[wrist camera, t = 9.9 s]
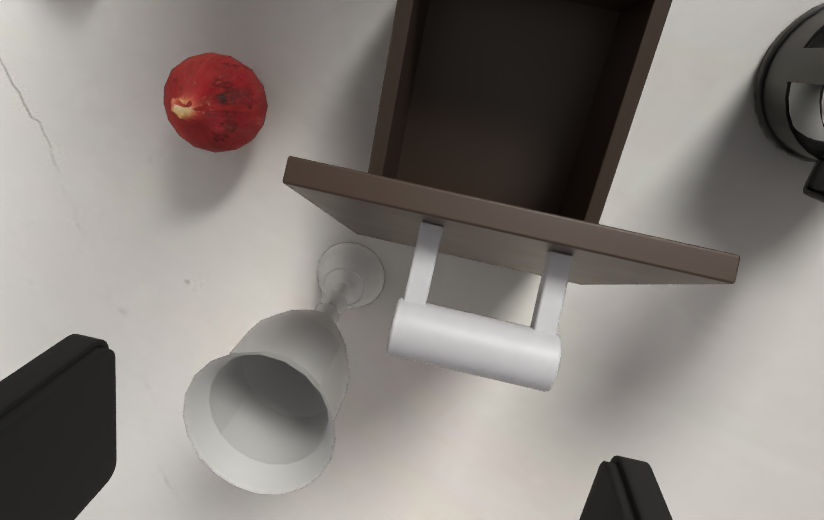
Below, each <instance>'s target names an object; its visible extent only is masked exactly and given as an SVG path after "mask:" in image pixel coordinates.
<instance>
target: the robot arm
mask: <svg viewBox="0 0 824 520" xmlns="http://www.w3.org/2000/svg"><path fill="white" fill-rule="evenodd" d="M115 466H116V376H115V353H114V351H112V350H110V349H109V347H108V344H107V342H106V341H104V340H101V339H97V338H92V337H88V336H84V335H79V334H72V335H69V336H67V337H66V338H64V339H63V340H61V341H60V342H58V343H57V344H55V345H54V346H53V347H51V348H50V349H48V350H47V351H45V352H44V353H42V354H41V355H39V356H38V357H36V358H35V359H33V360H32V361H30V362H29V363H27V364H26V365H24V366H23V367H21V368H20V369H18V370H17V371H15V372H14V373H12V374H11V375H9V376H8V377H6V378H5V379H3V380H2V381H0V520H74V519H75V518H76V517H77V516H78V515H79V514H80V513H81V511H82V510H83V509H84V508H85V507H86V506H87V505H88V504H89V502H90V501H91V500H92V499H93V498H94V497H95V496H96V495H97V493H98V492H99V491H100V490H101V489H102V488H103V487H104V485H105V484H106V483H107V482H108V481H109V479H110V478H111V476H112V474H113V472H114V470H115ZM580 520H672V517H671V515H670V512H669V510H668V507H667V505H666V503H665V500H664V498H663V495H662V493H661V490H660V488H659V485H658V483H657V481H656V478H655V476H654V473H653V471H652V468H651V467H650V465H649V464H648V463H647V462H643V461H639V460H635V459H630V458H626V457H621V456H614V457H613V458H612V459H611V461H610V462H606V461H603V462H602V463H601V464H600V466H599V469H598V471H597V474H596V477H595V479H594V482H593V485H592V487H591V490H590V493H589V495H588V498H587V501H586V503H585V506H584V509H583V512H582V514H581V517H580Z"/></svg>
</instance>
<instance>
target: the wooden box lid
mask: <svg viewBox="0 0 824 520" xmlns="http://www.w3.org/2000/svg"><path fill="white" fill-rule="evenodd" d="M283 183H284V184H286V185H287V186H288V187H290V188H291V189H293V190H294V191H296V192H297V193H299V194H300V195H301V196H303V197H304V198H306V199H307V200H309V201H310V202H312V203H313V204H315V205H316V206H317V207H319V208H320V209H322V210H323V211H325V212H326V213H328V214H329V215H330V216H332V217H333V218H335V219H336V220H338V221H339V222H341V223H342V224H343V225H345V226H346V227H348V228H349V229H351V230H352V231H354V232H355V233H356V234H360V235H364V236H369V237H373V238H377V239H382V240H386V241H391V242H395V243H399V244H404V245H408V246H413V247H415V251H414V255H413V260H412V264H411V269H410V273H409V277H408V282H407V286H406V290H405V295H404V298H403V297H402V298H400V299H399V300H398V303H397V306H396V309H395V313H394V317H393V321H392V325H391V330H390V334H389V339H388V344H387V354H388V355H392V356H396V357H400V358H404V359H409V360H413V361H417V362H421V363H426V364H430V365H434V366H438V367H443V368H447V369H451V370H455V371H459V372H464V373H468V374H472V375H476V376H481V377H485V378H489V379H493V380H498V381H502V382H506V383H510V384H515V385H519V386H523V387H527V388H532V389H536V390H540V391H544V392H546V391H549V390H550V389H551V387H552V385H553V384H554V381H555V379H556V376H557V373H558V369H559V364H560V359H561V338H560V335H559V334H557V328H558V324H559V319H560V315H561V310H562V306H563V301H564V296H565V292H566V287H567V283H568V282H572V283H576V284H580V285H597V284H734V283H735V280H736V275H737V270H738V265H739V260H740V256H738V255H736V254H731V253H727V252H722V251H718V250H713V249H708V248H704V247H699V246H695V245H690V244H686V243H681V242H677V241H672V240H668V239H663V238H659V237H654V236H650V235H645V234H641V233H636V232H632V231H627V230H623V229H618V228H614V227H609V226H605V225H600V224H596V223H591V222H587V221H582V220H578V219H573V218H569V217H564V216H560V215H555V214H551V213H546V212H542V211H537V210H532V209H528V208H523V207H519V206H514V205H510V204H505V203H501V202H496V201H492V200H487V199H483V198H478V197H474V196H469V195H465V194H460V193H456V192H451V191H447V190H442V189H438V188H433V187H429V186H424V185H420V184H415V183H411V182H406V181H402V180H397V179H393V178H388V177H384V176H379V175H375V174H370V173H365V172H361V171H356V170H352V169H347V168H343V167H338V166H334V165H329V164H325V163H320V162H316V161H311V160H307V159H302V158H298V157H293V156H289V157H288V160H287V165H286V169H285V173H284V177H283ZM438 252H439V253H444V254H448V255H452V256H457V257H461V258H466V259H470V260H474V261H479V262H483V263H488V264H492V265H497V266H501V267H505V268H510V269H514V270H519V271H523V272H527V273H532V274H536V275H541V281H540V285H539V290H538V294H537V299H536V304H535V308H534V313H533V317H532V322H531V326H530V327H528V326H524V325H520V324H515V323H511V322H507V321H502V320H498V319H494V318H490V317H485V316H481V315H477V314H472V313H468V312H464V311H459V310H455V309H451V308H446V307H442V306H438V305H433V304H429V303H426V302H427V298H428V294H429V289H430V285H431V280H432V276H433V272H434V267H435V263H436V258H437V254H438Z"/></svg>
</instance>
